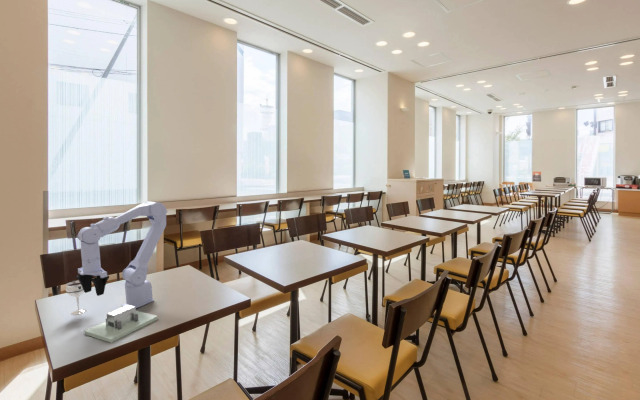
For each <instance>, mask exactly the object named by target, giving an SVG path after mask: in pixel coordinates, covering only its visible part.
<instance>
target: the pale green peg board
mask: <svg viewBox="0 0 640 400" xmlns="http://www.w3.org/2000/svg"><path fill="white" fill-rule="evenodd" d="M134 318H135V320H134V321H132V322H130V323H128V324H126V325H124V326H122V325H121V321H118V322H117V326H118V328H117V329H112V328H109V327H108V325H107V318H105V321H104V322H101V323H99V324H97V325H94V326H93V327H89V328H88V329H85V330H84V331H83V332H84V335H86V336H90V337H93V338H95V339H99V340H102V341H105V342H106V343H107V342H108V343H113V342H115V341H117V340H119V339H121V338H124V337H125V336H127V335H129V334H131V333H133V332H134V331H137V330H139V329H140V328H143V327H145V326H147V325H149V324H151V323H153V322H155V321H158V319H159V317H158V315H155V314H151V313H147V312H142V311H139V310H136V314H134Z"/></svg>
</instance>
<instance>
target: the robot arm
mask: <svg viewBox="0 0 640 400" xmlns="http://www.w3.org/2000/svg"><path fill="white" fill-rule="evenodd" d="M167 213H168V210H167V208H166V206H165V205H164V204H163V202H158V201H157V202H155V201H151V200H148V201H145V202H143V203H139V204H138V205H136V206H134V207H133V208H131V209H128V210H127V211H125V212H123V213H121V214H119V215H118V216H115V217H113V216H109V217H108V216H105V217H103V218H102V219H101V220H99V221H98V222H95V223H90V226H85V227H82V228H81V229H79V230H80V231H78V234H77V235H76V237H77V240H79V241H80V242H79V243H80V256H81V267H79V268H77V274H78V275H76V276H75V278H76V279H77V281H78V280H79V282H80V283H81V285H82V288H83V290H84V294H87V293H90V292H92V288H93V286H94V290H95V294H96V296H97V297H100V296H102V295H104V293H105V290H106V285H107V283H108V280H109V278H110V275H109V274H108V271H107V270H106V271H105V270H104V269H103V268H102V267H101V266H102V265H101V253H100V252H101V251H100V244H99V241H100V239H101V238H103V237H106V236H108V235H109V234H111V233H113V232H115V231H117V230H118V229H119V228H120V226H121V225H122V224H124V223H127V222H129V221H131V220H133V219H135V218H138V217H141V216H142V217H146V218H148V220H149V222H150V224H151V226H150V227H149V229H148V231H147V233H146V235H145V238H144V240H143V241H142V244H141V246H140V247H139V249H138V251H137V253H136V256H135V257H134V258H133V260H131V261H130V262H129V264H128V265H127V266H126V268H124V269H123V270H122V274H121V275H122V279H123V280H125V283H124V290H125V303H123V304H121V307H124V306H126V305H131V306H135V309H137V308H138V309H139V308H140V307H142V306H146V305H147V304H150V303H152V302H154V301H155V299H154V298H153V287H152V283H151V282H150V281H149V280H148V279H147V278H148V277H147V274H148V271H149V265H148V263H149V261H150V260H151V257H152V256H153V254H154V251H155V249H156V247H157V245H158V243H159V240H160V239H161V236H162V235H163V233H164V231H165V229H166V226H167ZM92 284H93V286H92Z"/></svg>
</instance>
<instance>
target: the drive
mask: <svg viewBox="0 0 640 400" xmlns="http://www.w3.org/2000/svg"><path fill="white" fill-rule="evenodd" d="M136 309H137V308H136ZM136 309H135V306H131V305H126V306H124V307H123V306H121V307H119V308H117V309H114V310H113V311H109V312H107V313H106V319H107V325H108V327H109V328H112V329H117V328H118V326H117V322H118V321H121V325H122V326H124V325H126V324H128V323H130V322H132V321H134V320H135V318H134V314H136V311H137V310H136Z"/></svg>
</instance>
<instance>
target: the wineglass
mask: <svg viewBox="0 0 640 400" xmlns="http://www.w3.org/2000/svg"><path fill="white" fill-rule="evenodd" d="M65 286H66V287H65V292H66V293H67V295H69V296H72V297H75V299H76V305H77V309H76V310H75V311H72V312H71V313H70V315H73V316H74V315H75V316H76V315H81V314H84V313H86V312H87V309H85V308H84V309H80V296H81V295H83V294H85V292H84V290H83V288H82V285H81V283H80V282H79V280H78V279H77V280H72V281H70V282H67V283H66V284H65Z"/></svg>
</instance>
